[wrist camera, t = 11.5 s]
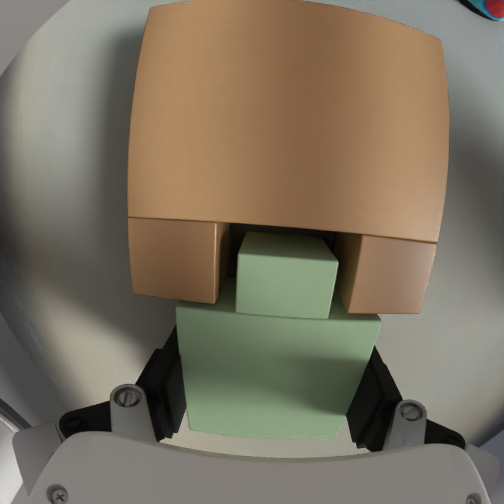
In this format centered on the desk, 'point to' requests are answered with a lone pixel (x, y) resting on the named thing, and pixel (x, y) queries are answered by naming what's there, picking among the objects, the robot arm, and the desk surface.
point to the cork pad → (287, 145)
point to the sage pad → (274, 345)
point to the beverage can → (488, 8)
